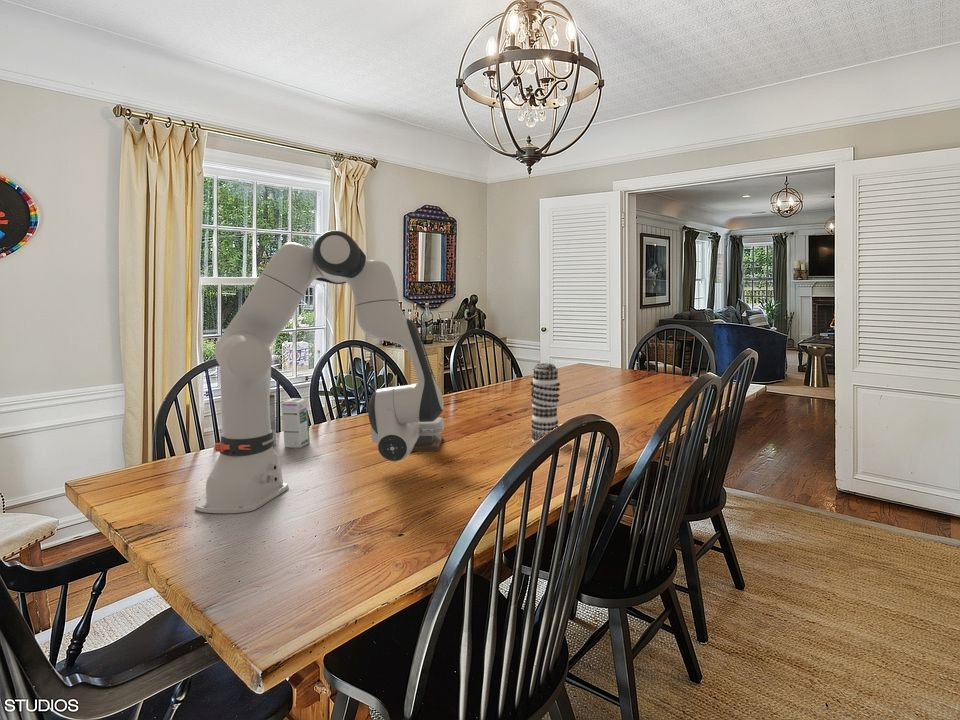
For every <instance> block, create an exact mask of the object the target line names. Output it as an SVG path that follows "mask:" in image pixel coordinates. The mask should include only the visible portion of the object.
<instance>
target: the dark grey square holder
mask: <svg viewBox="0 0 960 720" xmlns="http://www.w3.org/2000/svg"><path fill="white" fill-rule="evenodd" d="M443 435H444V434H439V435H434V436H419V438H418V440H417V442H416V443H415V445H414V447H413V449H412V451H411V452H438V451H439V450H440V447H441V444H442V441H443Z"/></svg>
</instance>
